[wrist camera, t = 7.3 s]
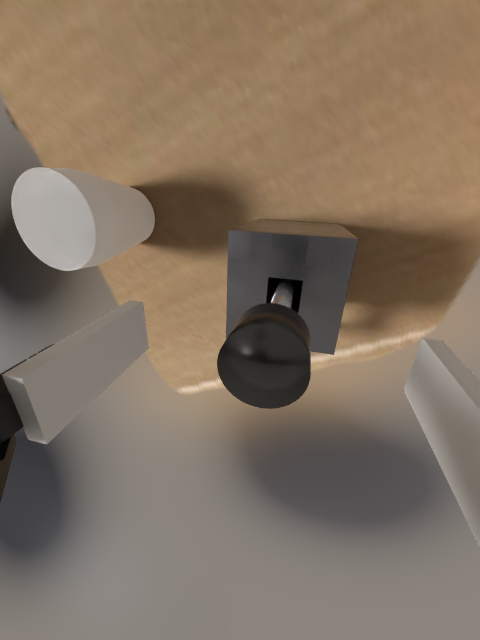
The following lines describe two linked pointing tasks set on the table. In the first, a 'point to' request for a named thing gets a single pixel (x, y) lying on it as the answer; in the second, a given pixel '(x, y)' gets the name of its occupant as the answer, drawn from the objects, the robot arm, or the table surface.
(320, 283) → the grey box with handle
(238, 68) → the table surface
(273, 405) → the plunger
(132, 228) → the cup
